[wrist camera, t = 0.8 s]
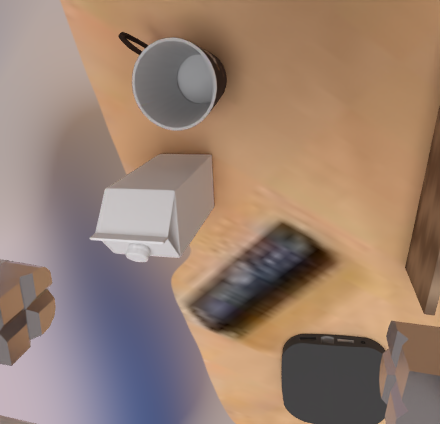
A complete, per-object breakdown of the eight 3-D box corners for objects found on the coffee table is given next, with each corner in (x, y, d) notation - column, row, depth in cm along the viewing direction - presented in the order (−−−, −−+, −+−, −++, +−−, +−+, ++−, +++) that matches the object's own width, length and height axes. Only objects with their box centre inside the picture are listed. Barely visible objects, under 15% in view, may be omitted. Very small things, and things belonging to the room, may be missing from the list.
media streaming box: (284, 407, 64) (283, 423, 62) (281, 330, 59) (279, 343, 57) (383, 417, 61) (387, 435, 58) (389, 336, 56) (392, 351, 53)
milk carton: (159, 153, 53) (83, 201, 36) (212, 153, 52) (159, 204, 34) (164, 204, 56) (95, 273, 38) (214, 206, 54) (167, 278, 37)
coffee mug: (248, 96, 48) (232, 106, 39) (187, 128, 51) (158, 144, 42) (202, -1, 46) (174, -14, 36) (140, 39, 48) (100, 36, 39)
